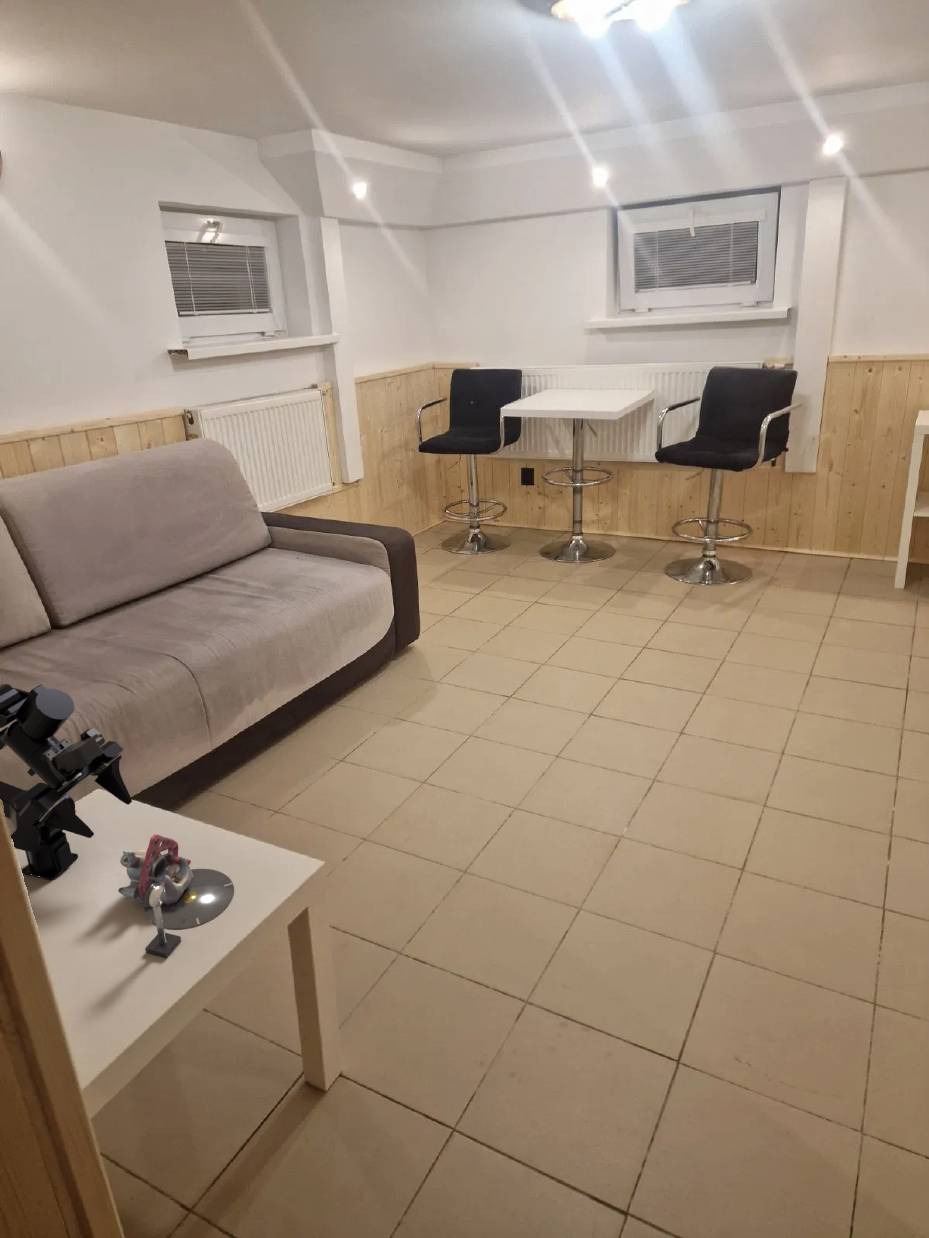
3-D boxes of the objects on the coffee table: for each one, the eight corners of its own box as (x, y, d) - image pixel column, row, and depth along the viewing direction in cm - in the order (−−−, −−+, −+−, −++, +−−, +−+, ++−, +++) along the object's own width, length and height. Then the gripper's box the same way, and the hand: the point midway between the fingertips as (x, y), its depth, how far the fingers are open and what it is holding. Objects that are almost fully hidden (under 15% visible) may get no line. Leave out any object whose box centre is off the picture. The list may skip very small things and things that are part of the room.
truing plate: (125, 918, 130) (125, 917, 130) (178, 862, 142) (178, 861, 142) (203, 937, 126) (202, 936, 126) (250, 878, 138) (250, 877, 138)
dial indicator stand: (146, 953, 123) (134, 892, 119) (160, 936, 126) (150, 876, 122) (166, 958, 122) (155, 897, 118) (181, 941, 125) (171, 880, 121)
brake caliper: (181, 908, 128) (129, 852, 126) (137, 933, 132) (86, 880, 130) (215, 861, 138) (168, 809, 136) (174, 886, 142) (127, 836, 140)
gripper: (17, 754, 119) (95, 829, 121) (103, 696, 136) (171, 763, 137) (-14, 792, 125) (61, 864, 126) (74, 732, 141) (139, 796, 142)
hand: (111, 819), depth 133 cm, fingers open, 9 cm apart
